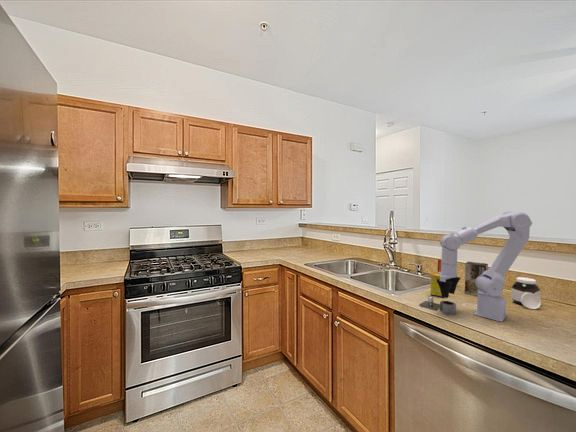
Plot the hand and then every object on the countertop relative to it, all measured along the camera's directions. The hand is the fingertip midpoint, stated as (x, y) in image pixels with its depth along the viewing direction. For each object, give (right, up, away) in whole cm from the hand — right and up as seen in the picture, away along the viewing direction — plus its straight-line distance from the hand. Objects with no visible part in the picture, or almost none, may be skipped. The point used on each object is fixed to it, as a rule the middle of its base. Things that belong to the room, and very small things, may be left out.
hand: (448, 295), depth 114 cm
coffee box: (+29, -7, +24) cm, 38 cm away
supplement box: (+8, -7, +22) cm, 24 cm away
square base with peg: (-4, -7, +7) cm, 11 cm away
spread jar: (+42, -8, +9) cm, 43 cm away
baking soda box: (+21, -6, +37) cm, 43 cm away
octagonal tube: (0, -7, 0) cm, 7 cm away
